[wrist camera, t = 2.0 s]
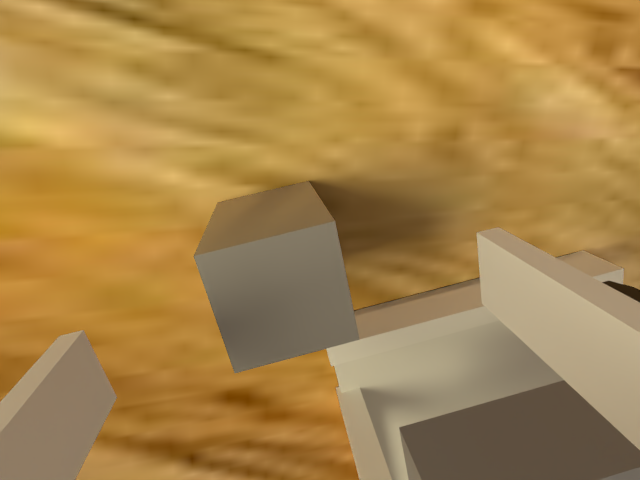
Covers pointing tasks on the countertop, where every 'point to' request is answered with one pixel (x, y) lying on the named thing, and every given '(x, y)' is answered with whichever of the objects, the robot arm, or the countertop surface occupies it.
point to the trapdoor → (521, 441)
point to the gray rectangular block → (276, 276)
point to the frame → (432, 365)
